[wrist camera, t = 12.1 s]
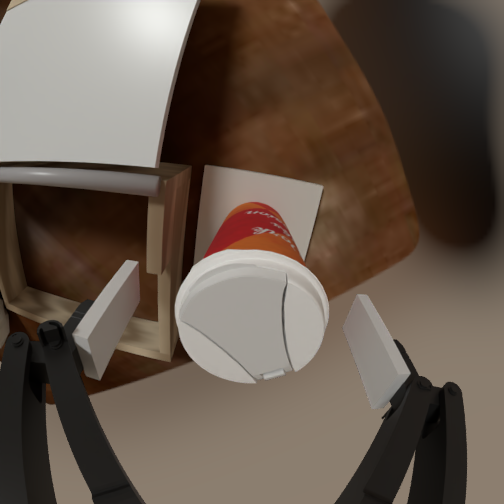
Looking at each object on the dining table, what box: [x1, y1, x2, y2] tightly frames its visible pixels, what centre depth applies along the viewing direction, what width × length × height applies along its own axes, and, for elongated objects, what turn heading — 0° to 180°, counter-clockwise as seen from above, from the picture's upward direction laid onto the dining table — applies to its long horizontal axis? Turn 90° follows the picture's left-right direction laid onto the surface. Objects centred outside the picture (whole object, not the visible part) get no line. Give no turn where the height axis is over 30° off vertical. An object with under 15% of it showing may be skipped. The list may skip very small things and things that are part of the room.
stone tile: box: [194, 164, 323, 265], centre depth 27 cm, size 11×11×1 cm
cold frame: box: [0, 161, 192, 362], centre depth 25 cm, size 26×20×8 cm
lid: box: [0, 0, 201, 197], centre depth 14 cm, size 26×22×5 cm
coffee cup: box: [175, 202, 329, 383], centre depth 20 cm, size 8×8×15 cm
